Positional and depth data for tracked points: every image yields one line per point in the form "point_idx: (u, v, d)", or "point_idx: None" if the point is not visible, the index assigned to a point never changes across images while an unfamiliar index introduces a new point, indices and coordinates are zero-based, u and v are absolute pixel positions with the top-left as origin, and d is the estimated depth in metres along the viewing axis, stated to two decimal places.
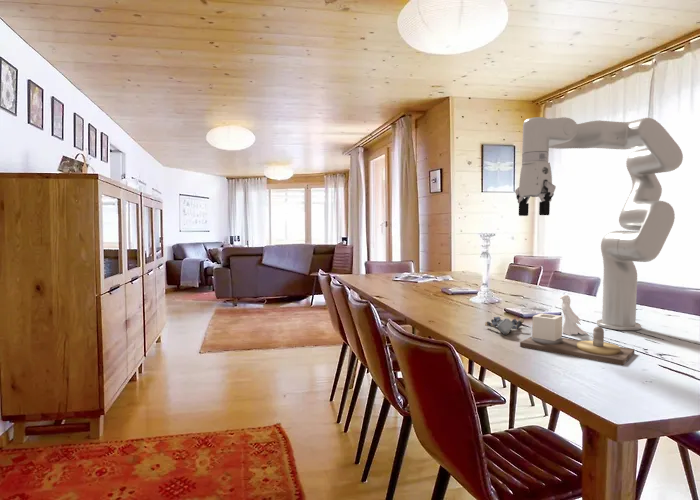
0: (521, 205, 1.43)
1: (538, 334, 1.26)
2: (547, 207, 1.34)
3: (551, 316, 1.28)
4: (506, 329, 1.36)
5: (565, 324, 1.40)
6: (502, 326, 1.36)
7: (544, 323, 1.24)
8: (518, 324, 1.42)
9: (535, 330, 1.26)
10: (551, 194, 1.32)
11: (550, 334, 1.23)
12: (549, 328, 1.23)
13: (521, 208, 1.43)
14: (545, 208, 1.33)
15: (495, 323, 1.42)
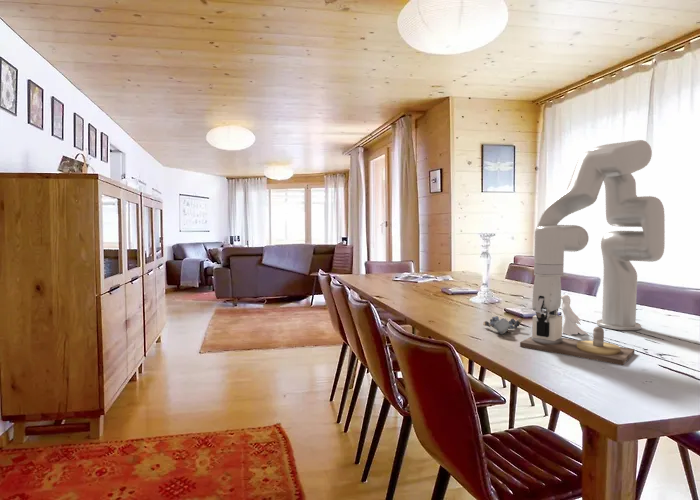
0: None
1: None
2: None
3: (551, 316, 1.28)
4: (502, 329, 1.36)
5: (565, 324, 1.40)
6: (498, 326, 1.37)
7: None
8: (516, 324, 1.42)
9: (535, 330, 1.26)
10: None
11: (550, 334, 1.23)
12: (549, 328, 1.23)
13: None
14: None
15: (492, 323, 1.43)
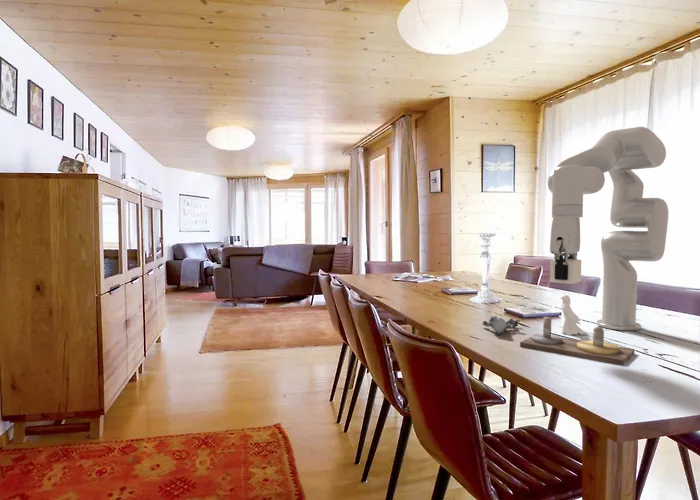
0: None
1: None
2: None
3: (570, 260, 1.24)
4: (499, 328, 1.37)
5: (565, 324, 1.40)
6: (496, 325, 1.37)
7: None
8: (514, 324, 1.42)
9: (553, 274, 1.22)
10: None
11: (569, 277, 1.19)
12: (568, 271, 1.20)
13: None
14: None
15: (490, 322, 1.43)
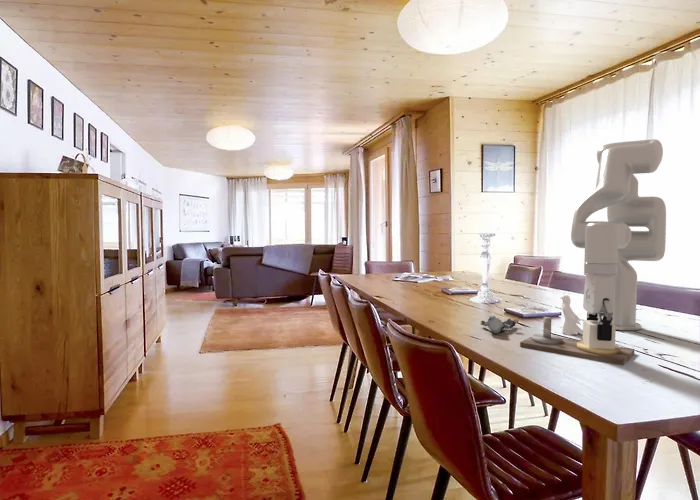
0: None
1: (596, 344, 1.16)
2: None
3: (598, 322, 1.19)
4: (495, 328, 1.37)
5: (565, 324, 1.40)
6: (491, 325, 1.38)
7: None
8: (511, 324, 1.43)
9: (593, 340, 1.16)
10: None
11: (610, 342, 1.15)
12: None
13: None
14: None
15: (488, 322, 1.44)
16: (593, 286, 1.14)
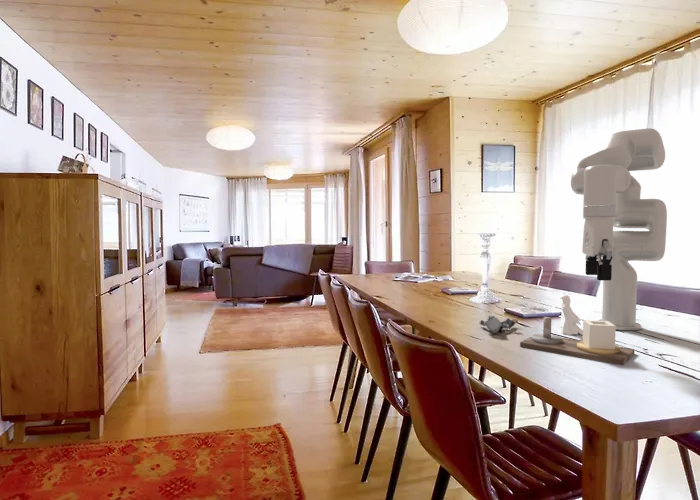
0: None
1: (596, 344, 1.16)
2: None
3: (598, 322, 1.19)
4: (494, 328, 1.38)
5: (565, 324, 1.40)
6: (490, 325, 1.38)
7: (603, 331, 1.15)
8: (510, 324, 1.43)
9: (593, 340, 1.16)
10: None
11: (610, 342, 1.15)
12: (609, 336, 1.15)
13: None
14: None
15: (486, 322, 1.44)
16: (592, 228, 1.16)
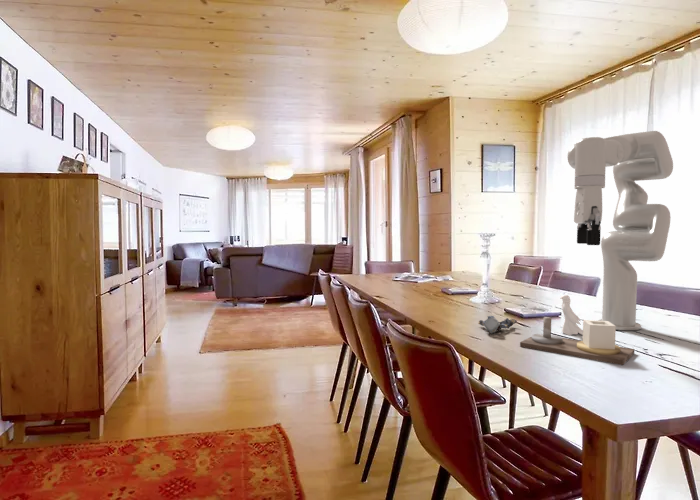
0: None
1: (596, 344, 1.16)
2: None
3: (598, 322, 1.19)
4: (491, 328, 1.38)
5: (565, 324, 1.40)
6: (487, 324, 1.39)
7: (603, 331, 1.15)
8: (508, 324, 1.43)
9: (593, 340, 1.16)
10: None
11: (610, 342, 1.15)
12: (609, 336, 1.15)
13: None
14: None
15: (485, 322, 1.44)
16: (583, 196, 1.23)
